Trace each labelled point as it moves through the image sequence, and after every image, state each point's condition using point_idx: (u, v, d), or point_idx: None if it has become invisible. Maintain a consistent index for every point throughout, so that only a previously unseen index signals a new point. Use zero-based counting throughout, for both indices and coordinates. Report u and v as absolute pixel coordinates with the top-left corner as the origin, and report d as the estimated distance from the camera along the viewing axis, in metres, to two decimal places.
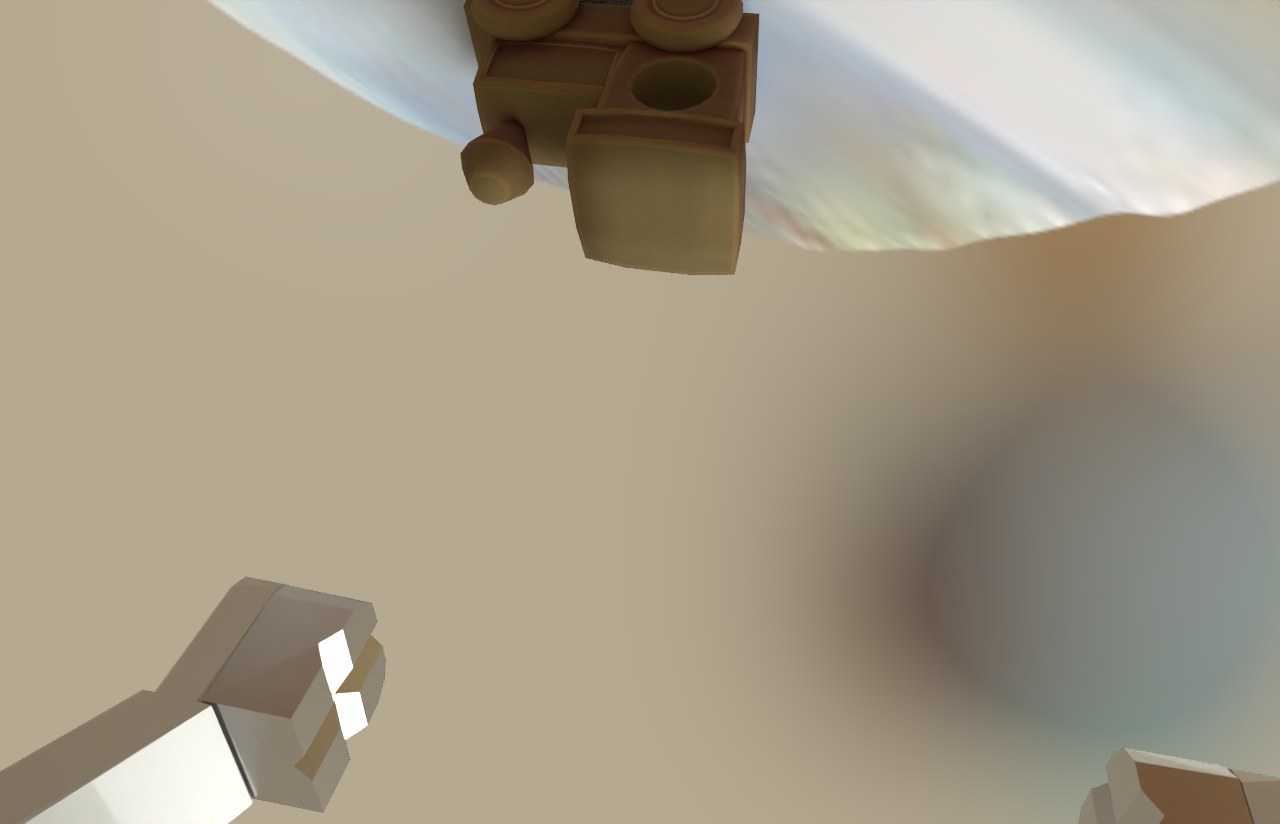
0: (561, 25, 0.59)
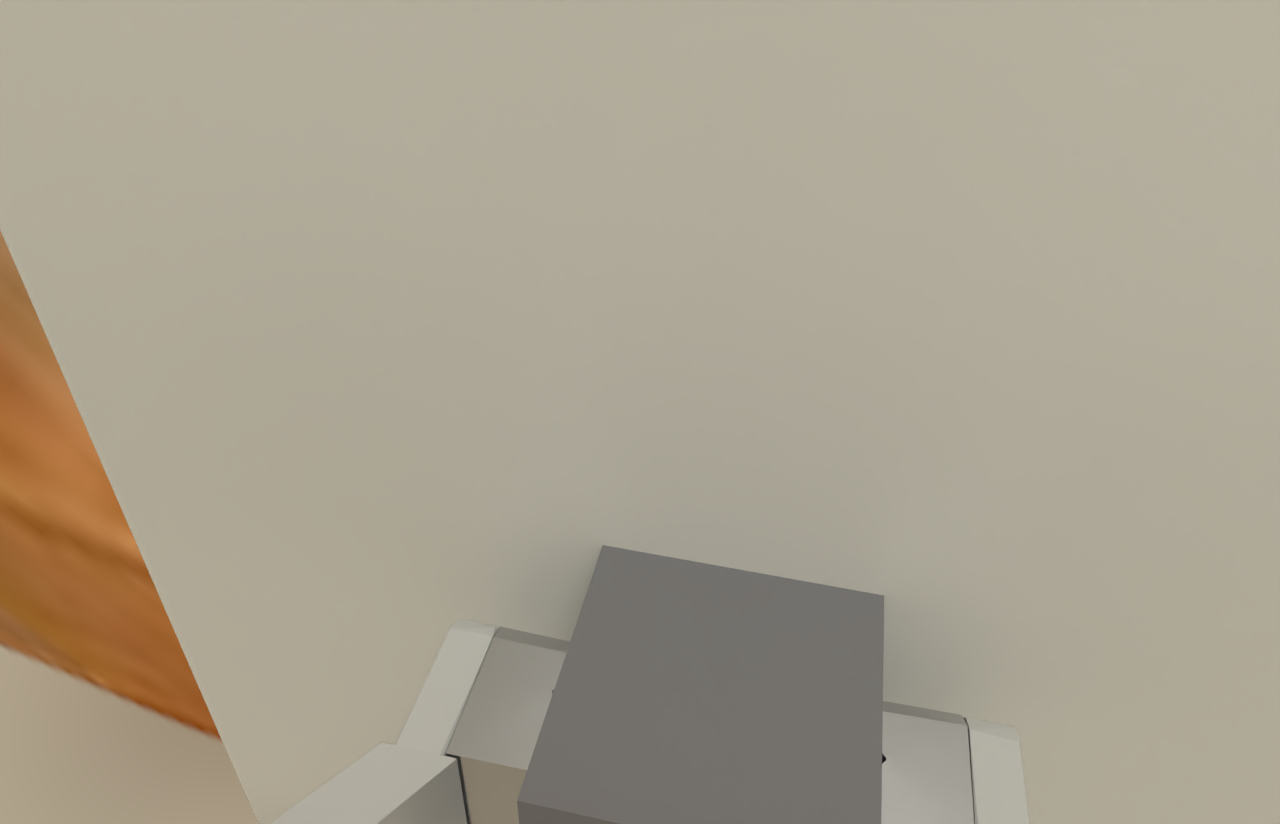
0: None
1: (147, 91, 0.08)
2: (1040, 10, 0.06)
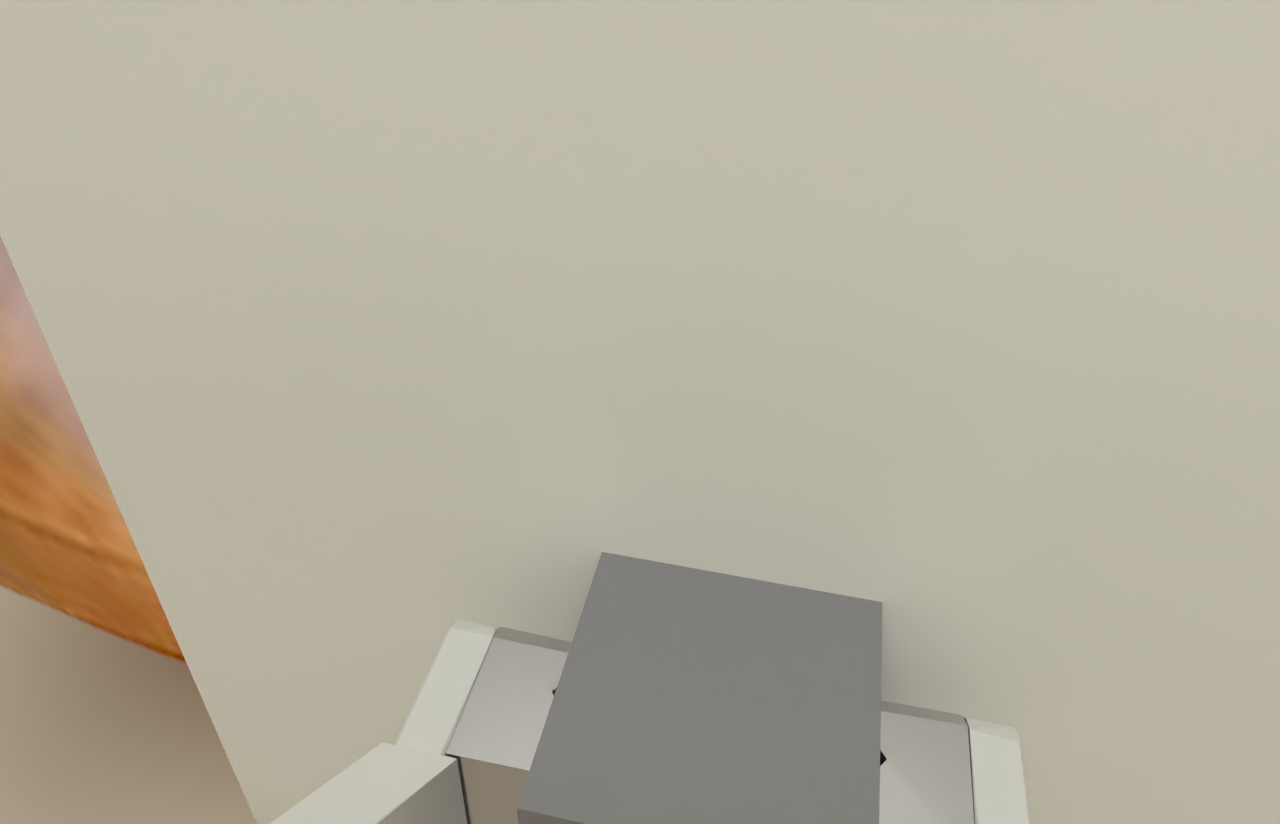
0: None
1: (148, 102, 0.08)
2: (1036, 25, 0.06)
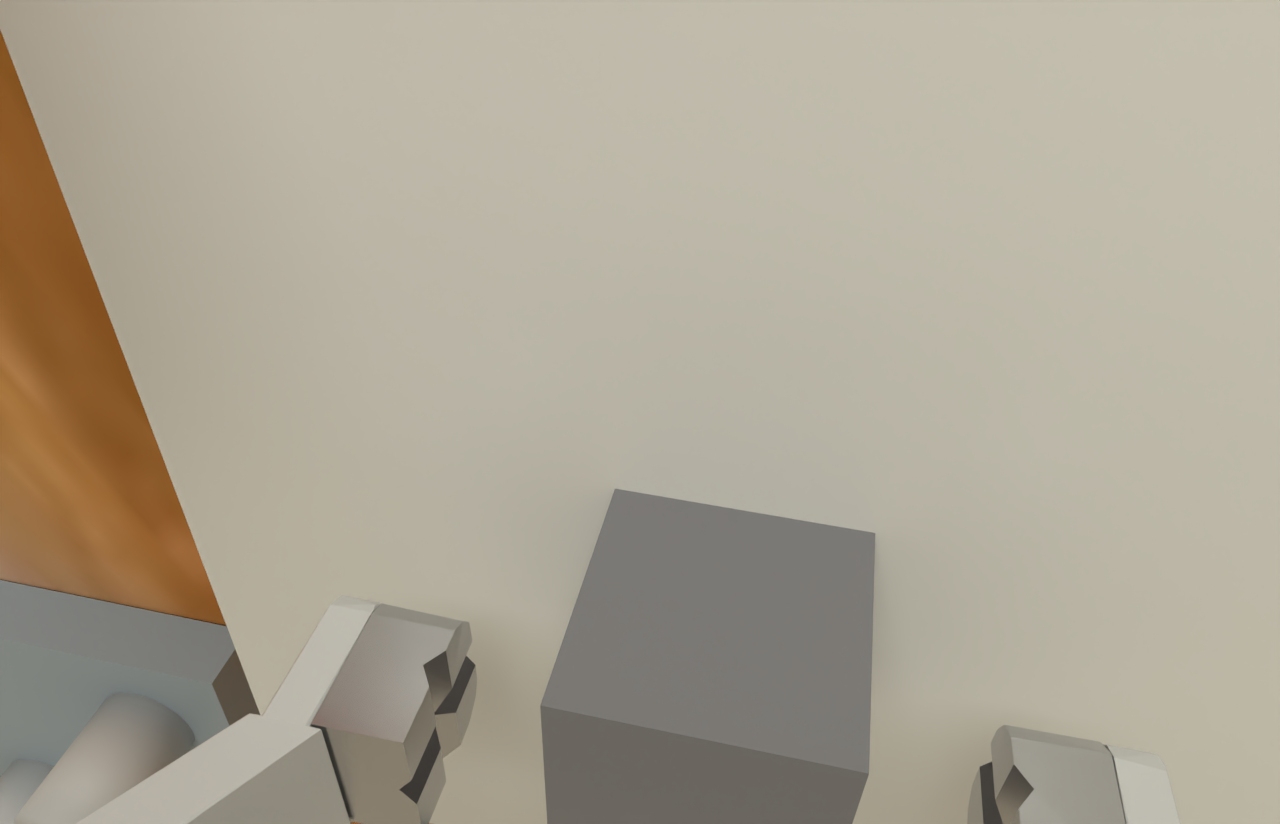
0: None
1: (205, 63, 0.09)
2: None
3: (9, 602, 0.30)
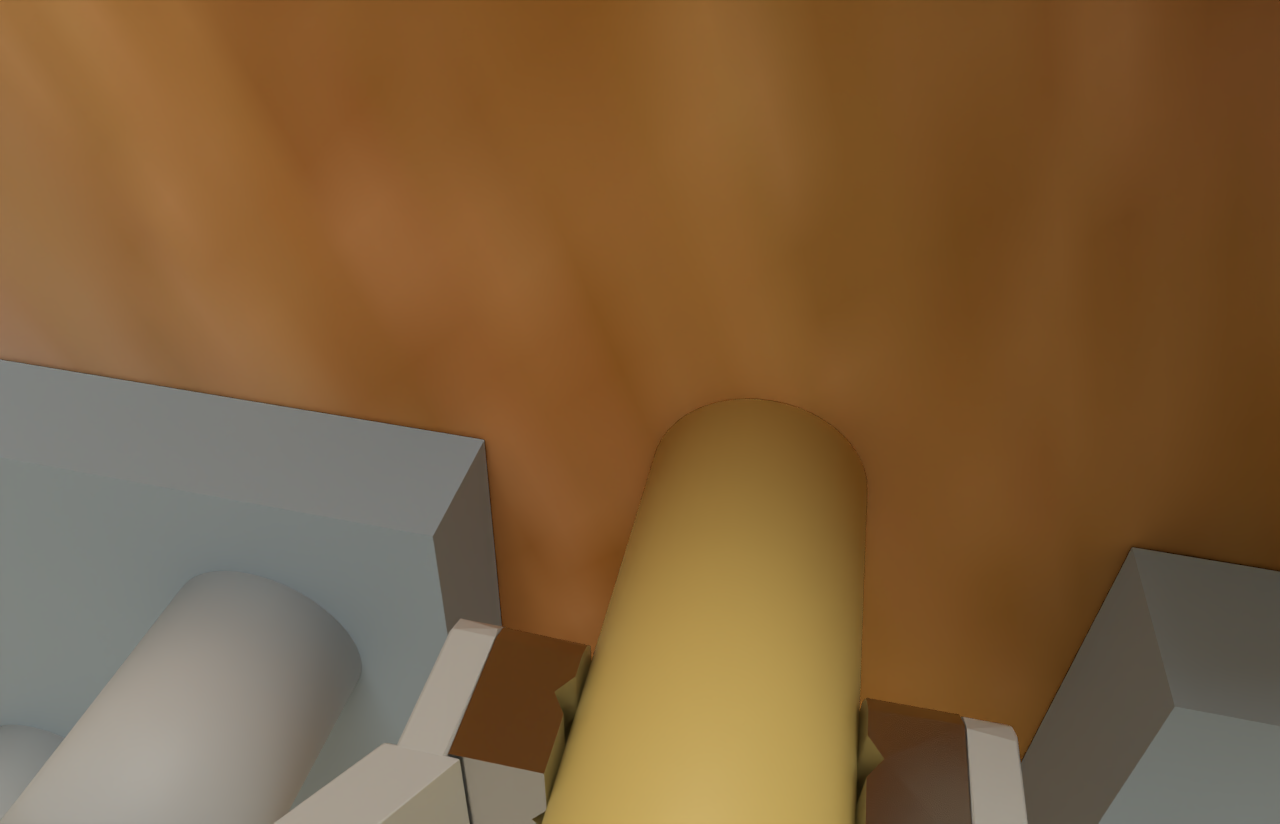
0: None
1: None
2: None
3: None
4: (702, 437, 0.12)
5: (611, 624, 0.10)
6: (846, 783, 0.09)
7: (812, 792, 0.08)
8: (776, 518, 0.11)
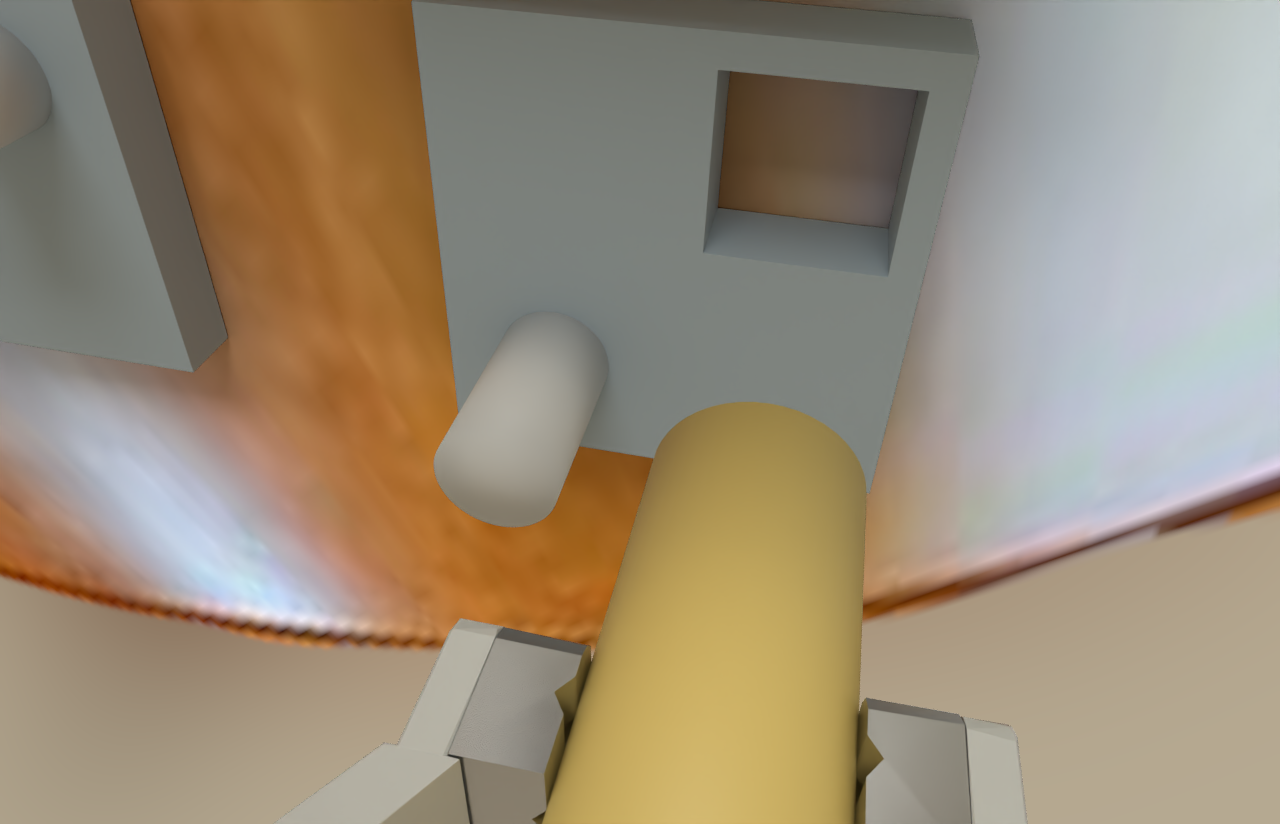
0: None
1: None
2: None
3: None
4: (701, 440, 0.12)
5: (610, 628, 0.10)
6: (845, 788, 0.09)
7: (810, 795, 0.08)
8: (775, 521, 0.11)
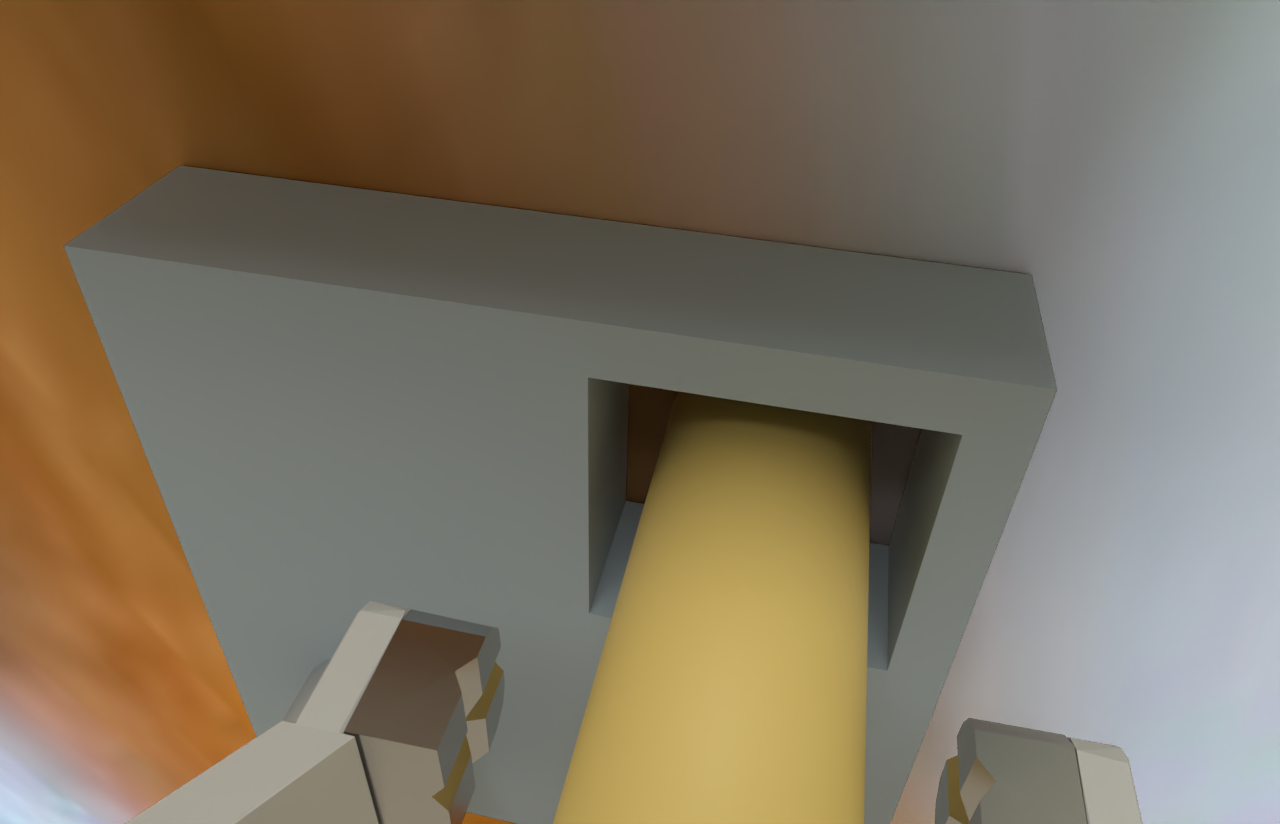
0: None
1: None
2: None
3: None
4: None
5: (644, 534, 0.11)
6: (858, 662, 0.10)
7: (829, 662, 0.10)
8: (791, 439, 0.12)
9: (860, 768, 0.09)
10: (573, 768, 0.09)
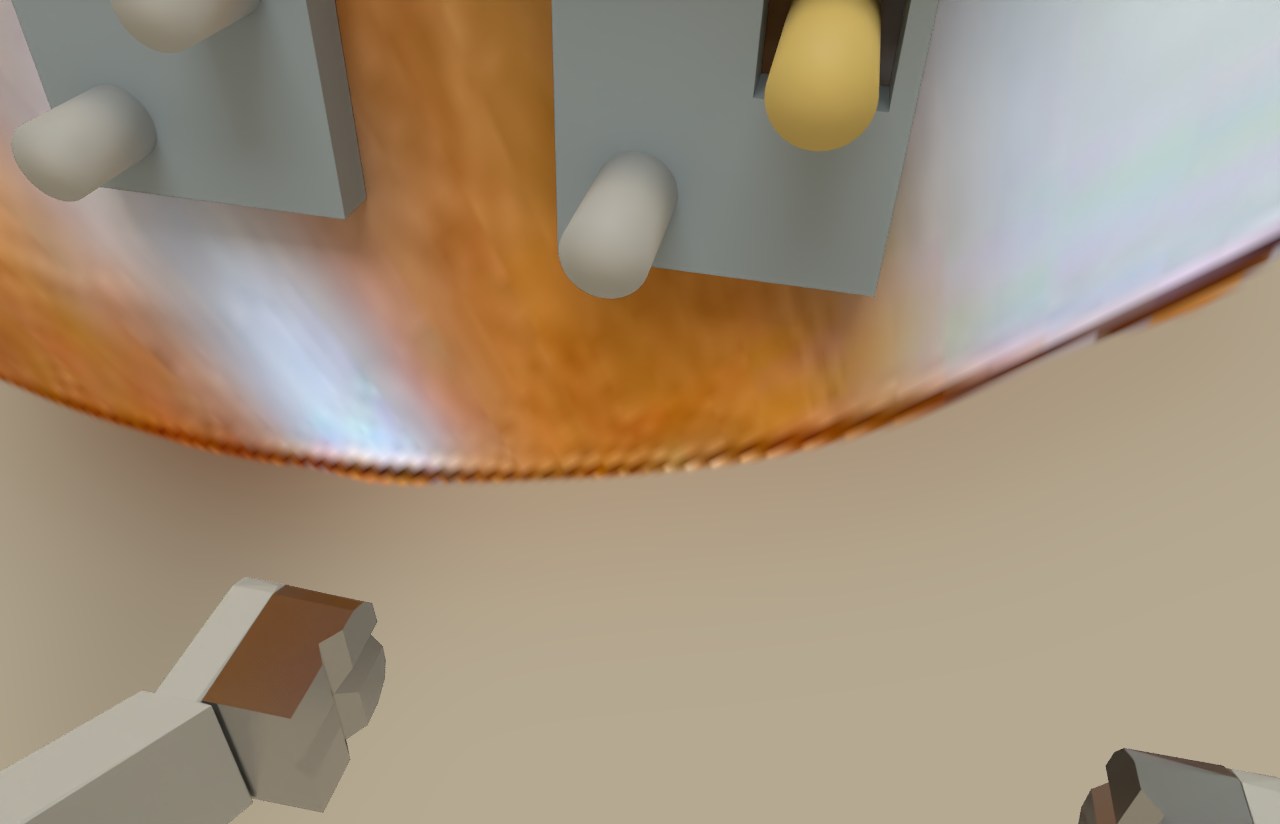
0: None
1: None
2: None
3: None
4: None
5: (790, 15, 0.28)
6: (877, 37, 0.27)
7: (866, 24, 0.26)
8: None
9: (878, 55, 0.26)
10: (777, 52, 0.26)
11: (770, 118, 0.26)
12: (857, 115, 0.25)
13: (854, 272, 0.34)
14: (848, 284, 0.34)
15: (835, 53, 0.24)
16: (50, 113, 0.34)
